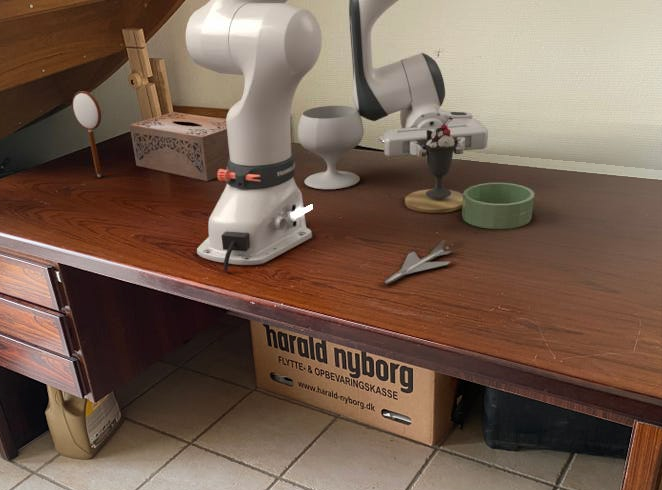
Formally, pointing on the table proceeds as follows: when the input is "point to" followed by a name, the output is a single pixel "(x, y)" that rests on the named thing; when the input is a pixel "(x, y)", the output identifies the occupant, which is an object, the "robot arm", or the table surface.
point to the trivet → (434, 202)
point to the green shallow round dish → (497, 205)
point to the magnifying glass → (88, 119)
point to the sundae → (439, 157)
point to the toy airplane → (420, 263)
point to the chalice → (330, 142)
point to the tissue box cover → (182, 145)
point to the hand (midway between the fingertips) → (441, 151)
